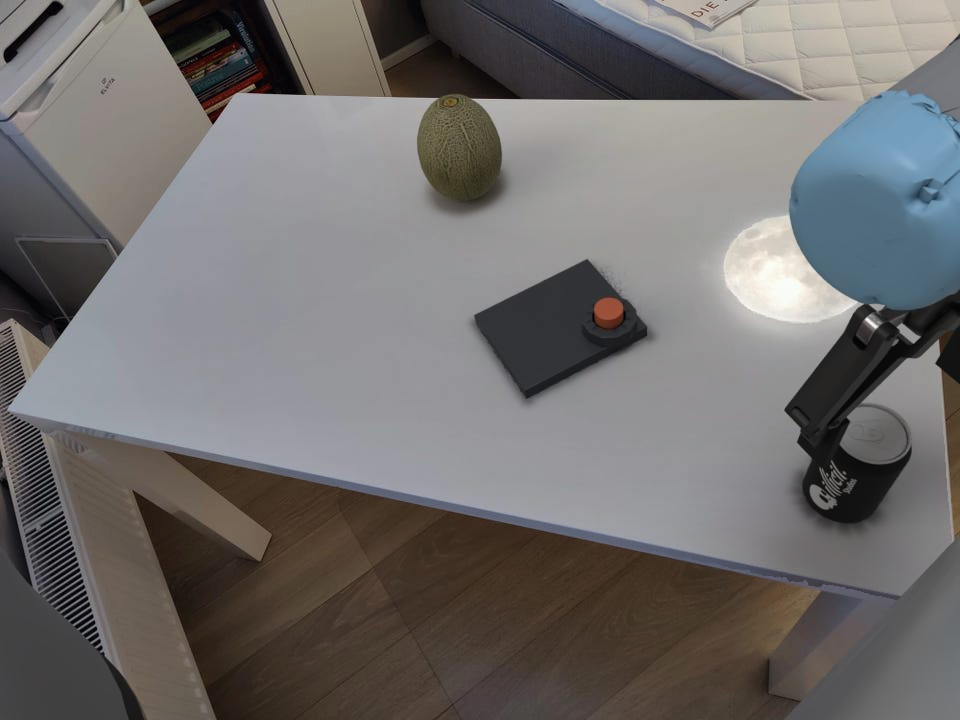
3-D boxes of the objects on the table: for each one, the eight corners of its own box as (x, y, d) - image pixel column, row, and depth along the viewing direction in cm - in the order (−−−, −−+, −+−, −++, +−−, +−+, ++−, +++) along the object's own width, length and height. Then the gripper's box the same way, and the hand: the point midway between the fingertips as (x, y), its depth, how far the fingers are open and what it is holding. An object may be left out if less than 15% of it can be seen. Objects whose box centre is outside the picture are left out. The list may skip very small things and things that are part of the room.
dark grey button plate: (528, 402, 79) (525, 385, 76) (476, 323, 87) (471, 305, 84) (650, 338, 81) (650, 319, 78) (587, 267, 89) (586, 248, 86)
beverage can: (875, 534, 64) (918, 475, 55) (798, 517, 66) (826, 458, 57) (876, 470, 68) (917, 404, 58) (802, 457, 70) (830, 391, 60)
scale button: (604, 333, 79) (604, 324, 77) (589, 315, 81) (588, 305, 79) (628, 321, 79) (628, 311, 78) (613, 303, 81) (613, 293, 80)
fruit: (489, 225, 97) (469, 134, 85) (418, 212, 101) (389, 123, 89) (520, 170, 102) (505, 78, 90) (451, 160, 106) (428, 70, 94)
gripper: (861, 362, 35) (786, 528, 52) (1237, 152, 38) (1050, 373, 55) (758, 269, 39) (720, 450, 56) (1103, 88, 42) (968, 311, 59)
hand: (883, 412), depth 55 cm, fingers open, 13 cm apart
